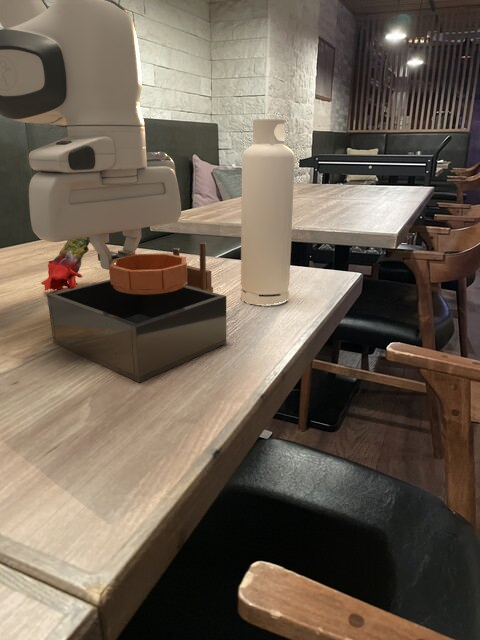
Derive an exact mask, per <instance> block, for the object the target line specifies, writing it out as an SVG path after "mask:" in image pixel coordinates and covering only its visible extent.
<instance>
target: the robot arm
mask: <svg viewBox="0 0 480 640" xmlns="http://www.w3.org/2000/svg"><path fill="white" fill-rule="evenodd" d="M0 25H1V27H2V28H1V29H0V116H2V117H4V118H7V119H10V120H12V121H16V122H18V123H19V122H20V123H26V124H36V125H45V126H46V125H48V126H57V127H60V128H64V129H65V128H66V131H67V136H66V137H63V138H61V139H58V140H56V141H54V142H51V143H48V144H46V145H43V146H41V147H38V148H36V149H33V150H31V151H30V152H29V154H28V162H29V166H30V168H31V169H32V170H33V171H37V172H36V173H35V174H34V175H32V177H31V179H30V181H29V186H28V204H29V205H28V206H29V216H30V225H31V229H32V232H33V233H34V234H35V235H36V236H37V237H38V238H39V239H40V240H41V241H45V242H50V243H61V242H67V241H68V240H73V239H79V238H85V237H88V238H89V244H90V245H91V246H92V247H93V249H94V250H95V252H96V253H97V255H98V254H99V255H100V261H99V262H100V263H99V264H100V268H101V269H102V270H107V271H109V265H110V263H111V262H112V260H113V259H116V258H118V254H112V253H111V252H110V251H111V250H110V248H109V247H108V245H107V244H108V243H110V234H114V233H115V234H116V233H121V232H122V236H123V237H125V241H124V242H123V245H122V246H123V247H122V249H120V250H117V253H121V254H125V255H129V256H130V255H135V254H136V251H137V249H138V247H139V244H140V241H141V239H142V229H144V228H151V227H157V226H162V225H168V224H174V223H178V221H179V219H180V218H181V215H182V202H181V194H180V189H179V183H178V179H177V176H176V175H177V174H176V165H175V162H174V160H173V158H171V156H169V155H167V153H166V152H164V151H155V152H150V151H147V144H146V142H147V141H146V129H145V128H146V127H145V121H144V117H143V115H142V110H141V95H142V90H143V80H142V79H143V78H142V70H141V60H140V59H141V58H140V51H139V44H138V37H137V33H136V32H137V31H136V27H135V23H134V20H133V18H132V15H131V14H130V13H129V12H128V10H127V9H126V8H125V7H123V6H122V5H121V4H120V3H118V2H116V1H115V0H54V1H53V2H52V4H51V5H50V6H49V5H48V4H47V2H46V1H45V0H0Z"/></svg>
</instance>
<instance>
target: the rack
mask: <svg viewBox="0 0 480 640" xmlns="http://www.w3.org/2000/svg"><path fill="white" fill-rule="evenodd" d="M198 248H199V267H195V266H191V265H187V285H186V286H190V287H194V288H197V289H201V290H205V291H209V292H213V293H214V287H213V286H212V270H209V269H207V265H206V264H207V260H206V258H207V257H206V256H207V255H206V253H207V252H206V251H207V250H206V242H199V247H198ZM172 255H177V256H180V248H178V247H174V248H172Z"/></svg>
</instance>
